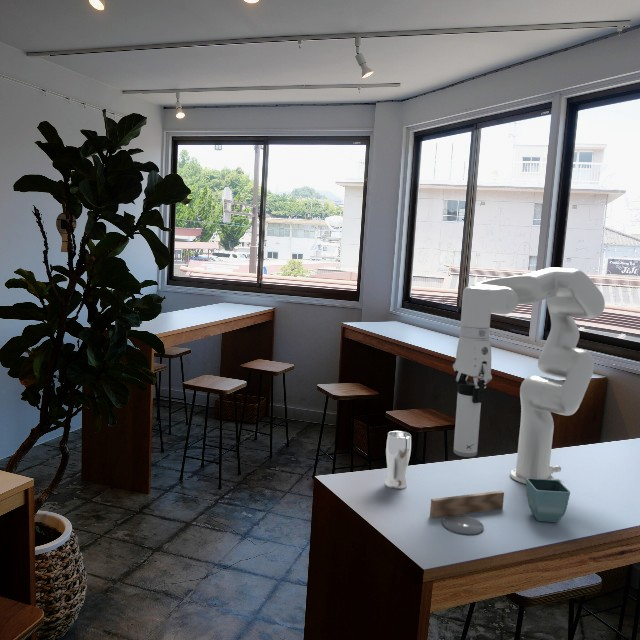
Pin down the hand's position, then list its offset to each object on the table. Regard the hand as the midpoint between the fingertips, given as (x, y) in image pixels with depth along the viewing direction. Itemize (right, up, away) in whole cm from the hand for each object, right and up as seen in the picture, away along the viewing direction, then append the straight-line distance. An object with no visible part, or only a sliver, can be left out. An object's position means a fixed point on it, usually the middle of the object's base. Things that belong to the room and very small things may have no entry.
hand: (469, 398), depth 168 cm
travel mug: (-1, -15, +2) cm, 15 cm away
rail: (-2, -29, -5) cm, 29 cm away
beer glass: (-18, -26, +11) cm, 34 cm away
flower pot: (+18, -30, -6) cm, 36 cm away
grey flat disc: (-5, -30, -13) cm, 33 cm away
